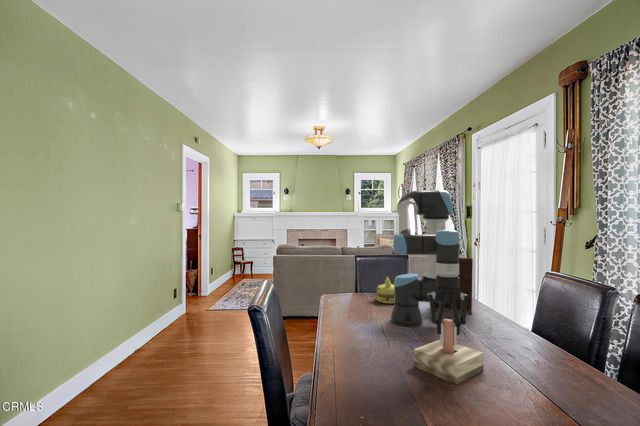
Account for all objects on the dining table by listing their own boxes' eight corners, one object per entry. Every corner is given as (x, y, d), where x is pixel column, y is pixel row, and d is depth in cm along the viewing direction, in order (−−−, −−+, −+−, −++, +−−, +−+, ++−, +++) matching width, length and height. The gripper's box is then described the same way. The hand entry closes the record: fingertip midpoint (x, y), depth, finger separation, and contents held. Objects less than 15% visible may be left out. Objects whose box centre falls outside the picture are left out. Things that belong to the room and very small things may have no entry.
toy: (375, 298, 216) (375, 275, 216) (399, 299, 214) (399, 275, 215) (376, 304, 201) (376, 279, 201) (403, 305, 199) (403, 279, 199)
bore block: (414, 366, 117) (414, 349, 117) (441, 355, 126) (441, 339, 126) (456, 384, 104) (456, 365, 104) (483, 370, 113) (483, 352, 114)
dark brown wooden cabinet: (471, 310, 188) (470, 256, 189) (473, 315, 178) (472, 258, 179) (431, 307, 195) (431, 255, 195) (431, 311, 185) (431, 257, 186)
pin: (440, 361, 115) (440, 320, 116) (446, 358, 117) (446, 318, 118) (450, 365, 112) (449, 322, 113) (456, 362, 115) (455, 320, 115)
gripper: (424, 276, 113) (424, 346, 113) (476, 277, 111) (477, 349, 110) (420, 272, 121) (421, 339, 120) (469, 274, 118) (470, 341, 118)
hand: (448, 344), depth 115 cm, fingers closed on pin, 3 cm apart
